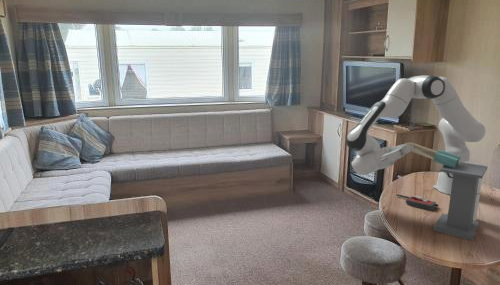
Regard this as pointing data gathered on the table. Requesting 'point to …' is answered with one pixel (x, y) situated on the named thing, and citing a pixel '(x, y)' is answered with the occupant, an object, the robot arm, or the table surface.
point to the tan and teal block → (436, 155)
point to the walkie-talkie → (420, 202)
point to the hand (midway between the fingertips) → (415, 146)
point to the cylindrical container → (477, 190)
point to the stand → (461, 201)
